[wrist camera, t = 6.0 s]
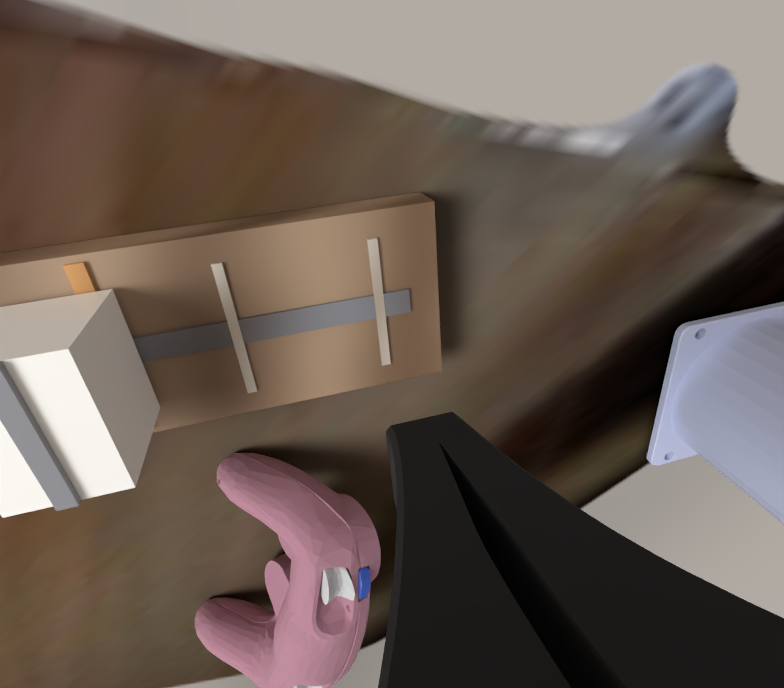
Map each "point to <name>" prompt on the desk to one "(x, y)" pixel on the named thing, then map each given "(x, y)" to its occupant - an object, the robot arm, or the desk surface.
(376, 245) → the fader board
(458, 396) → the desk surface
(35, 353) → the fader tab
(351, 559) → the video game controller
